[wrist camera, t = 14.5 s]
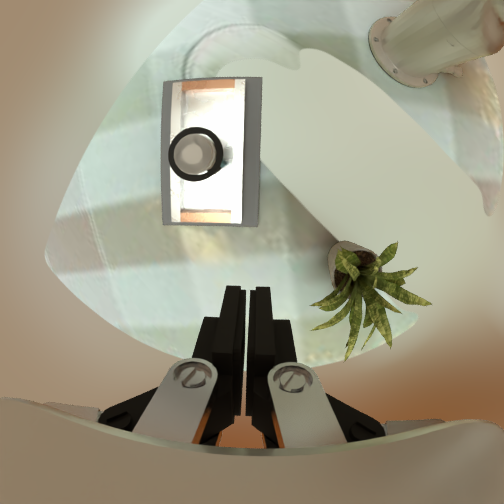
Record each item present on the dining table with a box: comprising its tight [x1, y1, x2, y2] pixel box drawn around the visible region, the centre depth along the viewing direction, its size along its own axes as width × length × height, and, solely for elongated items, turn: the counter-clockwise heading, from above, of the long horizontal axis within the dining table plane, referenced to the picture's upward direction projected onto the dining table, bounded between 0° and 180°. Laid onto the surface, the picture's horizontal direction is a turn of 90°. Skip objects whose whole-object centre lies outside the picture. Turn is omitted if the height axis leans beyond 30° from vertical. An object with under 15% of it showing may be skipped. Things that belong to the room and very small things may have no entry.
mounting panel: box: [161, 77, 262, 227], centre depth 33 cm, size 13×20×1 cm, turn 178°
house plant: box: [311, 241, 431, 361], centre depth 31 cm, size 14×14×16 cm
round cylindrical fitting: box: [168, 127, 227, 182], centre depth 28 cm, size 7×5×10 cm
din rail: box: [170, 79, 246, 223], centre depth 32 cm, size 9×18×2 cm, turn 179°
